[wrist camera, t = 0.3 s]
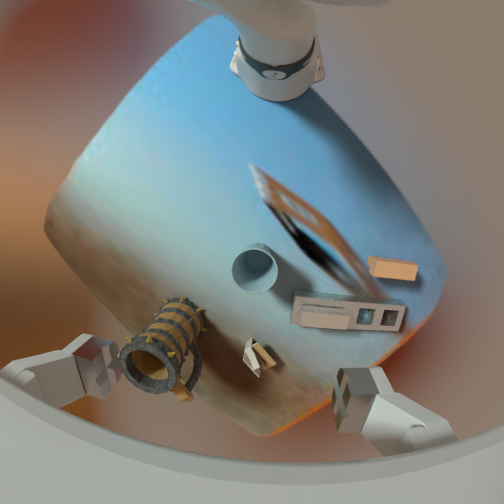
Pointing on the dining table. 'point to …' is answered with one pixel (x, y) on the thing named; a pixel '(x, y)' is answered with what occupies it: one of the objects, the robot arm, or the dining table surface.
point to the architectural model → (257, 357)
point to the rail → (352, 309)
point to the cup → (254, 269)
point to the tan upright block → (392, 268)
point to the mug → (165, 350)
